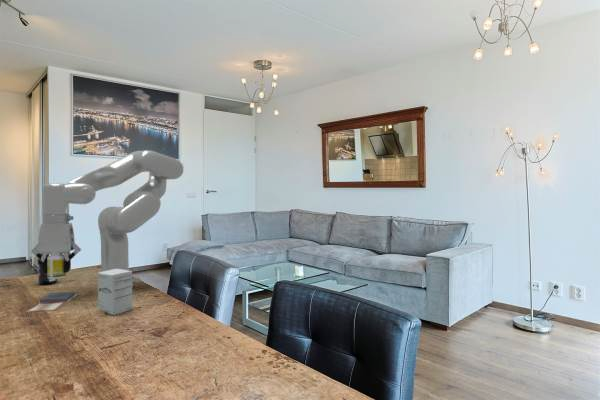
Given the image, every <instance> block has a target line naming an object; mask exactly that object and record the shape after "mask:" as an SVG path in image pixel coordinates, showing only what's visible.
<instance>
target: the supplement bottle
mask: <svg viewBox="0 0 600 400" xmlns="http://www.w3.org/2000/svg"><path fill="white" fill-rule="evenodd" d="M64 261H65V258H64V255H63V253H57V252H52V253H50V255H49V256H48V258H47V277H48V279H63V278H65V277H67V273H64Z"/></svg>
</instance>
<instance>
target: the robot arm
mask: <svg viewBox="0 0 600 400" xmlns="http://www.w3.org/2000/svg"><path fill="white" fill-rule="evenodd" d="M146 172H147V173H148V174H149V175H148V180H147V181H146V183H144V184H143V185H141V186H140V187H139V188H137V189H136V190H134V191H132V192H131V193H130V194H128V195H127V196H126V197H125V198H124V200H123V202H122V203H123V204H122V206H109V207H106V208H103V210H101V212H100V213H99V215H98V218H97V225H98V230H99V235H100V237H99V238H100V267H101V268H100V272H103V271H108V270H112V269H122V270H128V271H130V269H129V268H130V267H129V266H130V264H129V238H128V234H129V233H130V234H131V233H133V232H135V231H136V230H138V229H139V228H141V227H142V226H143V225H145V223H147V222H148V221H149V220H151V219H152V218H153V217H154V216H156V215H157V213H158V212H159V211H160V208H161V198H162V197H163V196H164V195H165V194H166V192H167V184H168V183H167V181H168V180H178V179H179V178H181V177H182V175H183V173H184V166H183V163H182V162H181V161H180V160H178V159H177V158H174V157H171V156H169V155H166V154H163V153H160V152H157V151H154V150H151V149H149V150H148V149H145V150H136V151H133V152H131V153H128V154H127V155H125V156H123V157H120V158H118V159H117V160H114V161H113V162H111V163H109V164H107V165H104V166H102V167H99V168H97V169H95V170H93V171H90V172H87V173H85V174H82V175H81V176H78V177H77V178H75V179H73V180H70V181H69V182H67V183H60V182H59V183H57V182H56V183H52V182H51V183H45V184H44V185H42V223H40V226H39V232H38V239H37V240H38V241H37V244H36V245H35V246H34V247H33V248H32V249H31V250H30V252H31V253H32V254H33V255H35V256H36V257H37V259H38V258H39V259H40V260H41V261H42V270H43V271H44V273H47V258H48V256H50V253H52V252H57V253H63V255H64V258H65V261H64V273H66V274H67V273H69V272H70V270H71V269H72V268H71V267H72V266H71V264H72V263H71V261H72V259H73V258H74V257H75V256H76V255H77V254H79V253H80V252H81V251H82V248H81V247H79V246H78V244H77V243H76V241H75V239H76V238H75V231H74V227H73V223H72V222H70V221H73V220H74V216H72V215H71V214H70V204H71V205H73V204H75V205H87V204H90V203H91V202H93V201H94V200H95V198H96V192H98V191H100V190H104V189H108V188H109V189H110V188H115V187H117V186H120V185H122V184H124V183H125V182H127V181H129V180H130V179H132V178H134V177H136V176H137V175H139V174H141V173H146ZM71 251H72V252H71ZM134 284H141V278H140V277H132V288H134ZM96 289H97V290H98V286H97V287H96Z"/></svg>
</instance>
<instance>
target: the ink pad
mask: <svg viewBox="0 0 600 400" xmlns="http://www.w3.org/2000/svg"><path fill="white" fill-rule="evenodd" d="M74 295H76V291H63V292H49V293H48V294H46V295H44V296H43V297H41V298H39V302H40V303H48V302H67V301H68V300H69V299H71V298H72V297H73V296H74ZM73 298H74V297H73ZM73 298H72V299H73ZM72 299H71V300H72ZM68 302H69V301H68ZM68 302H67V303H68Z"/></svg>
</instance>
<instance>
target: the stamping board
mask: <svg viewBox="0 0 600 400" xmlns="http://www.w3.org/2000/svg"><path fill="white" fill-rule="evenodd" d="M76 296H77V294H75V295H74V296H73V297H72V298H71V299H69V300H68V301H67V302H48V303H40V301H39V302H38V303H36V304H34V305H33V306H30V308H28V309H26V310H25V311H24V312H23V313H24V314H25V313H41V312H55V311H58V310H60V308H62V307H63V306H64V305H66V304H67V303H68V302H69V301H71V300H72V299H74V298H75V297H76Z"/></svg>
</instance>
